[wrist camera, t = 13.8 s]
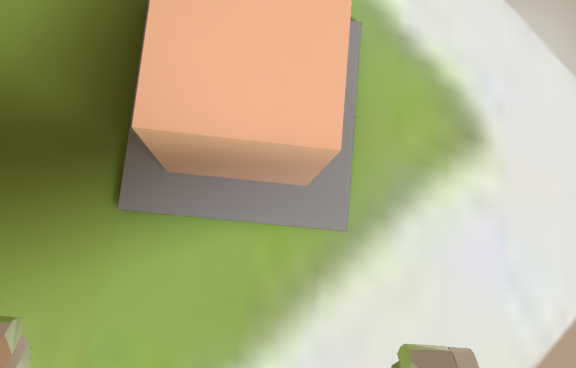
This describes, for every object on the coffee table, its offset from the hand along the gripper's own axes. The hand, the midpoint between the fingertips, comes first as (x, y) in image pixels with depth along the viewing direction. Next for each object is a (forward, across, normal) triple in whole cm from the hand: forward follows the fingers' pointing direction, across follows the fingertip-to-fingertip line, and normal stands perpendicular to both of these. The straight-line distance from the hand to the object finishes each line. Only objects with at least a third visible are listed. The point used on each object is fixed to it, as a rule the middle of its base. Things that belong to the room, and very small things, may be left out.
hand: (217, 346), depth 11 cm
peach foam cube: (+15, 0, +2) cm, 15 cm away
